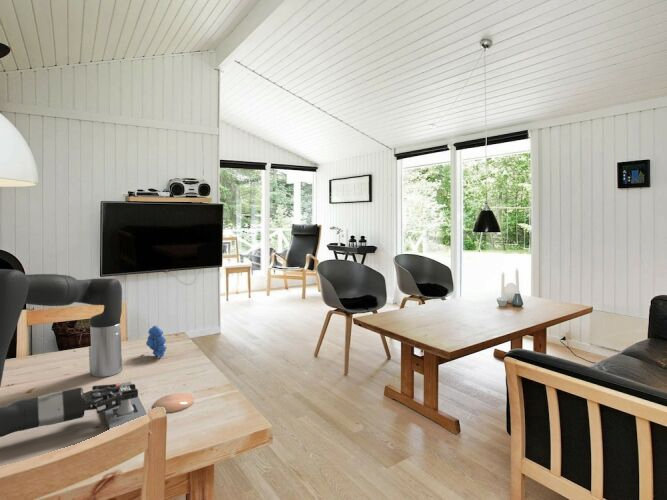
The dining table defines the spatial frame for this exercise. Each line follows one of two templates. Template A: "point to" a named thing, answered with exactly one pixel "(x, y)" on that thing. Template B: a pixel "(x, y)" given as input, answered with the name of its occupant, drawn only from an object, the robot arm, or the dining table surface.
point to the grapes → (156, 341)
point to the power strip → (126, 418)
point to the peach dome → (175, 402)
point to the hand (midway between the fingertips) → (136, 390)
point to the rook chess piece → (125, 404)
